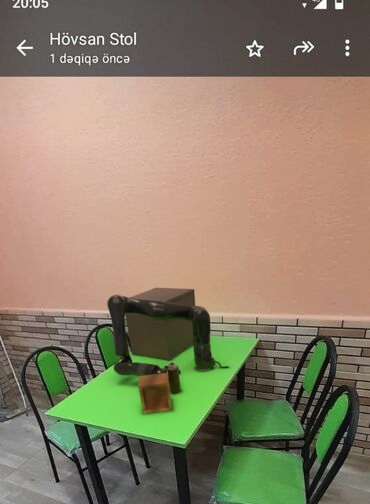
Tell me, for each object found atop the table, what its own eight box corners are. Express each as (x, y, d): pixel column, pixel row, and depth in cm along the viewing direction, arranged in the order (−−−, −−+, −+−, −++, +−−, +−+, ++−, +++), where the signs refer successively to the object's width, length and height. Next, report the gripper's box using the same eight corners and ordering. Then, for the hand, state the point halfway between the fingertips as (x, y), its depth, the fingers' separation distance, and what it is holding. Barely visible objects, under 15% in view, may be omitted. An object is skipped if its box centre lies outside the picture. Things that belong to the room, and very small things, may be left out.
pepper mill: (180, 388, 168) (177, 359, 160) (181, 393, 163) (178, 364, 155) (169, 389, 168) (166, 360, 160) (170, 394, 163) (166, 365, 155)
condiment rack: (171, 399, 158) (167, 372, 151) (172, 410, 150) (168, 382, 143) (143, 402, 158) (139, 376, 151) (143, 413, 150) (138, 385, 142)
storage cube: (169, 361, 199) (162, 302, 182) (132, 354, 214) (122, 299, 196) (198, 341, 224) (194, 288, 206) (162, 337, 238) (156, 287, 220)
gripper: (138, 370, 161) (166, 375, 153) (155, 359, 171) (182, 363, 164) (141, 383, 165) (168, 389, 157) (157, 372, 175) (184, 376, 167)
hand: (175, 376), depth 160 cm, fingers open, 8 cm apart
